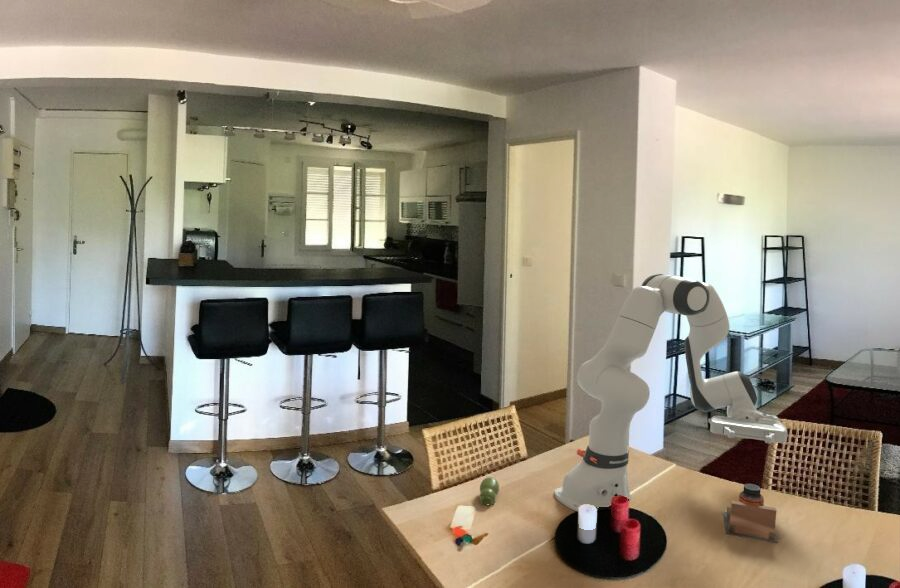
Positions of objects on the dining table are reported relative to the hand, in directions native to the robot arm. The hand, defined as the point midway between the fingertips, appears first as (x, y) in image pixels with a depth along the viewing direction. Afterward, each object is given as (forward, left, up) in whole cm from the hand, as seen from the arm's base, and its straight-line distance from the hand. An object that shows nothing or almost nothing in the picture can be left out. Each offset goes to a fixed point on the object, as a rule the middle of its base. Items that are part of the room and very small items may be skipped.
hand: (750, 438), depth 173 cm
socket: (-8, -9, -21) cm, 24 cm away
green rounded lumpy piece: (-65, +34, -21) cm, 76 cm away
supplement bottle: (-8, -8, -21) cm, 24 cm away
